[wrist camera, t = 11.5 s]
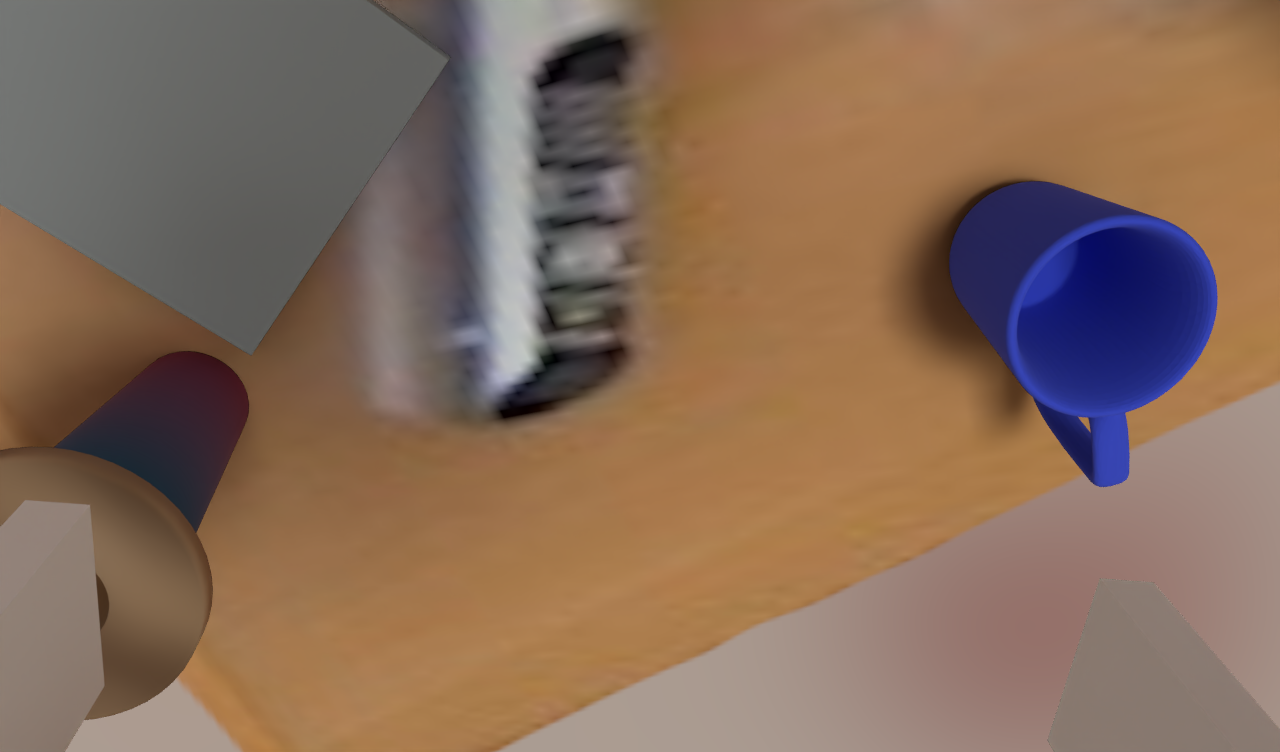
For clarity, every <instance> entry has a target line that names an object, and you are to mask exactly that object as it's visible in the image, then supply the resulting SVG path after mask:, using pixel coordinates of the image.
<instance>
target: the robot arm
mask: <svg viewBox="0 0 1280 752" xmlns="http://www.w3.org/2000/svg"><path fill="white" fill-rule="evenodd" d="M104 686H105V684H104V672H103V659H102V647H101V635H100V622H99V610H98V598H97V585H96V573H95V561H94V548H93V536H92V523H91V511H90V505H86V504H72V503H59V502H45V501H31V500H25V501H24V502H23V503H22V504H21V505H20V506H19V507H18V508H17V510H16V511H15V512H14V513H13V514H12V515H11V516H10V517H9V518H8V519H7V520H6V521H5V522H4V524H3V525H2V526H1V527H0V752H65V751H66V749H67V747H68V746H69V744H70V742H71V740H72V739H73V737H74V736H75V734H76V732H77V731H78V729H79V727H80V726H81V724H82V722H83V721H84V719H85V718H86V716H87V714H88V713H89V711H90V709H91V708H92V706H93V704H94V703H95V701H96V699H97V698H98V696H99V694H100V693H101V691H102V689H103V688H104ZM1048 742H1049V744H1050V746H1051V747H1052V749H1053V751H1054V752H1280V729H1279V727H1278V726H1277V725H1276V724H1275V723H1274V722H1273V720H1271V718H1270V717H1269V716H1268V715H1267V714H1266V712H1265V711H1264V710H1263V709H1262V708H1261V707H1260V706H1259V704H1258V703H1257V702H1256V701H1255V700H1254V698H1253V697H1252V696H1251V695H1250V694H1249V693H1248V691H1247V690H1246V689H1245V688H1244V687H1243V686H1242V684H1241V683H1240V682H1239V681H1238V680H1237V679H1236V678H1235V676H1234V675H1233V674H1232V673H1231V672H1230V671H1229V669H1228V668H1227V667H1226V666H1225V665H1224V664H1223V662H1222V661H1221V660H1220V659H1219V658H1218V657H1217V656H1216V654H1215V653H1214V652H1213V651H1212V650H1211V649H1210V647H1209V646H1208V645H1207V644H1206V643H1205V642H1204V641H1203V639H1202V638H1201V637H1200V636H1199V635H1198V633H1197V632H1196V631H1195V630H1194V629H1193V628H1192V627H1191V625H1190V624H1189V623H1188V622H1187V621H1186V620H1185V618H1184V617H1183V616H1182V615H1181V614H1180V613H1179V611H1178V610H1177V609H1176V608H1175V607H1174V606H1173V604H1172V603H1171V602H1170V601H1169V600H1168V599H1167V597H1165V595H1164V594H1163V593H1162V592H1161V591H1160V590H1159V588H1158V587H1157V586H1156V585H1155V584H1154V583H1153V582H1141V581H1127V580H1114V579H1100V580H1099V583H1098V586H1097V589H1096V592H1095V595H1094V598H1093V601H1092V604H1091V607H1090V610H1089V614H1088V617H1087V620H1086V623H1085V626H1084V629H1083V632H1082V635H1081V638H1080V641H1079V644H1078V647H1077V651H1076V654H1075V657H1074V660H1073V663H1072V666H1071V669H1070V672H1069V675H1068V678H1067V681H1066V684H1065V687H1064V691H1063V694H1062V697H1061V700H1060V703H1059V706H1058V709H1057V712H1056V715H1055V718H1054V721H1053V724H1052V728H1051V731H1050V734H1049V737H1048Z"/></svg>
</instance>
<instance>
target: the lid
mask: <svg viewBox="0 0 1280 752" xmlns="http://www.w3.org/2000/svg"><path fill="white" fill-rule="evenodd" d="M25 500H31V501H45V502H59V503H72V504H86V505H90V511H91V523H92V536H93V548H94V561H95V573H96V585H97V598H98V610H99V622H100V635H101V647H102V659H103V672H104V684H105V686H104V688H103V689H102V691H101V693H100V694H99V696H98V698H97V699H96V701H95V703H94V704H93V706H92V708H91V709H90V711H89V713H88V714H87V716H86V718H85V719H84V720H89V719H97V718H102V717H106V716H111V715H115V714H118V713H121V712H124V711H127V710H130V709H132V708H134V707H136V706H138V705H141V704H143V703H145V702H147V701H148V700H150V699H151V698H153V697H155V696H156V695H158V694H159V693H160V692H162V691H163V690H164V689H165V688H167V687H168V686H169V685H170V684H171V683H172V682H173V681H174V680H175V679H176V678H177V677H178V676H179V674H180V673H181V672H182V671H183V670H184V668H185V667H186V665H187V663H188V662H189V660H190V658H191V657H192V655H193V653H194V651H195V649H196V647H197V645H198V643H199V641H200V639H201V637H202V635H203V632H204V630H205V627H206V625H207V622H208V620H209V615H210V611H211V607H212V594H213V586H212V576H211V570H210V566H209V563H208V559H207V555H206V553H205V551H204V548H203V546H202V544H201V541H200V539H199V538H198V536H197V534H196V532H195V531H194V529H193V527H192V526H191V524H190V523H189V522H188V520H187V519H186V518H185V516H184V515H183V514H182V513H181V511H180V510H179V509H178V508H177V507H176V506H175V505H174V504H173V503H172V502H171V501H170V500H169V499H168V498H167V497H166V496H165V495H164V494H163V493H161V492H160V491H159V490H158V489H156V488H155V487H154V486H152V485H151V484H150V483H149V482H147V481H145V480H144V479H142V478H141V477H139V476H137V475H136V474H134V473H133V472H131V471H129V470H127V469H125V468H123V467H121V466H119V465H117V464H114V463H112V462H110V461H107V460H104V459H101V458H99V457H96V456H93V455H89V454H85V453H81V452H77V451H73V450H67V449H59V448H52V447H22V448H11V449H5V450H0V527H1V526H2V525H3V524H4V522H5V521H6V520H7V519H8V518H9V517H10V516H11V515H12V514H13V513H14V512H15V511H16V510H17V508H18V507H19V506H20V505H21V504H22V503H23V502H24V501H25Z"/></svg>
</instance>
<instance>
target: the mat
mask: <svg viewBox="0 0 1280 752" xmlns="http://www.w3.org/2000/svg"><path fill="white" fill-rule="evenodd" d="M450 58H451V57H450V56H448V55H447V54H446V53H444V52H443V51H442V50H440V49H439V48H437V47H436V46H435V45H433V44H432V43H431V42H429V41H428V40H426V39H425V38H424V37H422V36H421V35H420V34H418V33H417V32H415V31H414V30H413V29H411V28H410V27H409V26H407V25H406V24H405V23H403V22H402V21H400V20H399V19H398V18H396V17H395V16H394V15H392V14H391V13H389V12H388V11H387V10H385V9H384V8H383V7H381V6H380V5H379V4H377V3H376V2H374V1H373V0H0V204H1V205H2V206H4V207H6V208H7V209H9V210H11V211H12V212H14V213H16V214H17V215H19V216H21V217H22V218H24V219H26V220H27V221H29V222H31V223H32V224H34V225H36V226H37V227H39V228H41V229H42V230H44V231H46V232H47V233H49V234H51V235H52V236H54V237H55V238H57V239H59V240H60V241H62V242H64V243H65V244H67V245H69V246H70V247H72V248H74V249H75V250H77V251H79V252H80V253H82V254H84V255H85V256H87V257H89V258H90V259H92V260H94V261H95V262H97V263H99V264H100V265H102V266H104V267H105V268H107V269H109V270H110V271H112V272H113V273H115V274H117V275H118V276H120V277H122V278H123V279H125V280H127V281H128V282H130V283H132V284H133V285H135V286H137V287H138V288H140V289H142V290H143V291H145V292H147V293H148V294H150V295H152V296H153V297H155V298H157V299H158V300H160V301H162V302H163V303H165V304H166V305H168V306H170V307H171V308H173V309H175V310H176V311H178V312H180V313H181V314H183V315H185V316H186V317H188V318H190V319H191V320H193V321H195V322H196V323H198V324H200V325H201V326H203V327H205V328H206V329H208V330H210V331H211V332H213V333H215V334H216V335H218V336H219V337H221V338H223V339H224V340H226V341H228V342H229V343H231V344H233V345H234V346H236V347H238V348H239V349H241V350H243V351H244V352H246V353H248V354H249V355H252V354H253V352H254V351H255V349H256V348H257V346H258V345H259V343H260V342H261V340H262V339H263V337H264V336H265V334H266V333H267V331H268V330H269V328H270V327H271V325H272V324H273V322H274V321H275V320H276V318H277V317H278V315H279V314H280V312H281V311H282V309H283V308H284V306H285V305H286V303H287V302H288V300H289V299H290V297H291V296H292V294H293V293H294V291H295V290H296V288H297V287H298V285H299V284H300V282H301V281H302V279H303V278H304V276H305V275H306V273H307V272H308V270H309V269H310V267H311V266H312V264H313V263H314V261H315V260H316V258H317V257H318V255H319V254H320V252H321V251H322V249H323V248H324V246H325V245H326V243H327V242H328V240H329V239H330V237H331V236H332V234H333V233H334V231H335V230H336V228H337V227H338V225H339V224H340V222H341V221H342V219H343V218H344V216H345V215H346V213H347V212H348V210H349V209H350V207H351V206H352V204H353V203H354V201H355V200H356V198H357V197H358V195H359V194H360V192H361V191H362V189H363V188H364V186H365V185H366V183H367V182H368V180H369V179H370V177H371V176H372V174H373V173H374V171H375V170H376V169H377V167H378V166H379V164H380V163H381V161H382V160H383V158H384V157H385V155H386V154H387V152H388V151H389V149H390V148H391V146H392V145H393V143H394V142H395V140H396V139H397V137H398V136H399V134H400V133H401V131H402V130H403V128H404V127H405V125H406V124H407V122H408V121H409V119H410V118H411V116H412V115H413V113H414V112H415V110H416V109H417V107H418V106H419V104H420V103H421V101H422V100H423V98H424V97H425V95H426V94H427V92H428V91H429V89H430V88H431V86H432V85H433V83H434V82H435V80H436V79H437V77H438V76H439V74H440V73H441V71H442V70H443V68H444V67H445V65H446V64H447V62H448V61H449V59H450Z"/></svg>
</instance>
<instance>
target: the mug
mask: <svg viewBox="0 0 1280 752" xmlns="http://www.w3.org/2000/svg"><path fill="white" fill-rule="evenodd" d="M949 268H950V276H951V281H952V284H953V288H954V290H955V293H956V295H957V297H958V299H959V300H960V302H961V304H962V305H963V307H964V308H965V309H966V311H967V312H968V313H969V315H970V316H971V318H972V319H973V320H974V322H975V323H976V324H977V326H978V327H979V328H980V330H981V331H982V332H983V334H984V335H985V336H986V338H987V339H988V341H989V342H990V343H991V345H992V346H993V347H994V349H995V350H996V351H997V353H998V354H999V355H1000V357H1001V358H1002V360H1003V361H1004V362H1005V364H1006V365H1007V366H1008V368H1009V369H1010V370H1011V372H1012V373H1013V374H1014V376H1015V377H1016V378H1017V380H1018V381H1019V383H1020V384H1021V385H1022V386H1023V388H1024V389H1025V390H1026V391H1027V392H1028V393H1029V394H1030V395H1031V396H1032V397H1033V398H1034V401H1035V403H1036V405H1037V407H1038V409H1039V411H1040V413H1041V415H1042V417H1043V418H1044V420H1045V421H1046V423H1047V425H1048V426H1049V428H1050V429H1051V431H1052V432H1053V433H1054V435H1055V436H1056V438H1057V439H1058V440H1059V442H1060V443H1061V445H1062V446H1063V448H1064V449H1065V450H1066V451H1067V453H1068V454H1069V455H1070V456H1071V458H1072V459H1073V460H1074V461H1075V463H1076V464H1077V465H1078V466H1079V468H1080V469H1081V470H1082V471H1083V473H1084V474H1085V475H1086V476H1087V477H1088V479H1089V480H1090V481H1091V482H1092V483H1093V484H1095V485H1096V486H1099V487H1107V486H1113V485H1116V484H1119V483H1122V482H1123V481H1125V480H1126V479H1127V478H1128V475H1129V439H1128V427H1127V420H1126V415H1125V413H1126V412H1128V411H1131V410H1134V409H1137V408H1139V407H1142V406H1144V405H1146V404H1148V403H1149V402H1151V401H1153V400H1155V399H1157V398H1158V397H1160V396H1161V395H1162V394H1164V393H1165V392H1167V391H1168V390H1169V389H1171V388H1172V387H1173V386H1174V385H1175V384H1176V383H1177V382H1179V381H1180V380H1181V379H1182V378H1183V377H1184V375H1185V374H1186V373H1187V372H1188V371H1189V370H1190V369H1191V367H1192V366H1193V365H1194V364H1195V362H1196V361H1197V359H1198V358H1199V356H1200V355H1201V353H1202V351H1203V349H1204V347H1205V346H1206V343H1207V341H1208V339H1209V337H1210V334H1211V331H1212V328H1213V325H1214V321H1215V317H1216V310H1217V285H1216V280H1215V275H1214V272H1213V269H1212V266H1211V264H1210V261H1209V259H1208V258H1207V256H1206V254H1205V253H1204V251H1203V249H1202V248H1201V247H1200V246H1199V244H1198V243H1197V242H1196V241H1195V240H1194V239H1193V238H1192V237H1191V236H1190V235H1189V234H1187V233H1186V232H1185V231H1183V230H1182V229H1181V228H1179V227H1177V226H1176V225H1174V224H1172V223H1170V222H1168V221H1165V220H1162V219H1160V218H1157V217H1154V216H1151V215H1148V214H1145V213H1142V212H1139V211H1136V210H1133V209H1130V208H1127V207H1124V206H1121V205H1118V204H1115V203H1112V202H1109V201H1106V200H1103V199H1100V198H1098V197H1095V196H1092V195H1089V194H1086V193H1083V192H1080V191H1077V190H1074V189H1071V188H1068V187H1065V186H1062V185H1058V184H1054V183H1049V182H1040V181H1032V182H1021V183H1016V184H1012V185H1009V186H1006V187H1003V188H1001V189H999V190H997V191H995V192H993V193H991V194H989V195H988V196H986V197H985V198H983V199H982V200H981V201H980V202H978V203H977V204H976V205H975V206H974V207H973V208H972V209H971V210H970V211H969V212H968V213H967V215H966V216H965V218H964V219H963V221H962V222H961V224H960V225H959V227H958V229H957V231H956V234H955V236H954V239H953V242H952V245H951V250H950V258H949ZM1077 416H1078V417H1088V419H1089V423H1090V430H1091V433H1090V432H1089V430H1088V429H1087V428H1086V427H1085V426H1084V424H1083V423H1082V422H1081V421H1080V419H1079V418H1078V417H1077Z"/></svg>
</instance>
